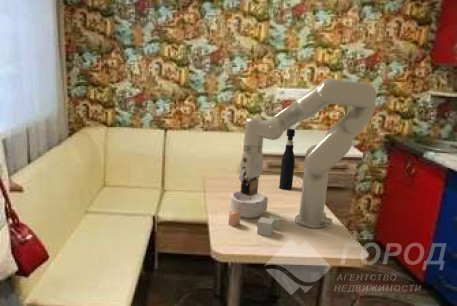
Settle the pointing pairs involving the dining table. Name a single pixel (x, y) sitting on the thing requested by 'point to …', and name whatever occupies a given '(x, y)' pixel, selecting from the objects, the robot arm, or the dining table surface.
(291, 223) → the dining table surface
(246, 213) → the paper bowls
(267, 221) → the grey cube
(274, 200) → the dining table surface
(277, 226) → the sage cube
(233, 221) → the cylinder
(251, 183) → the walnut block
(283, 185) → the wine bottle
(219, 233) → the dining table surface
